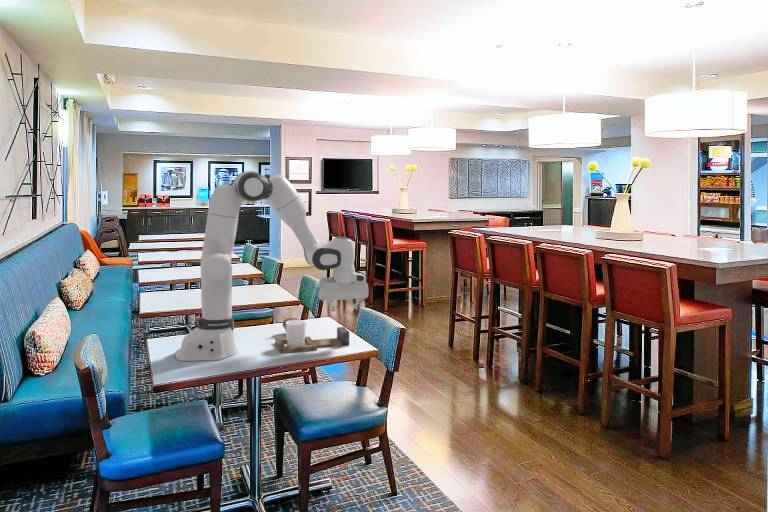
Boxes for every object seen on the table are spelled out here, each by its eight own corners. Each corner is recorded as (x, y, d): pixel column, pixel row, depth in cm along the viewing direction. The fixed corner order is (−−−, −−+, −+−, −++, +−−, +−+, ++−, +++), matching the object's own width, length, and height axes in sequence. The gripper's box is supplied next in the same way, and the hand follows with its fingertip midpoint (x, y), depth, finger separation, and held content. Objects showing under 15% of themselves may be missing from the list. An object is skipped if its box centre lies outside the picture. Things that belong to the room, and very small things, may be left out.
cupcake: (278, 334, 248) (278, 306, 246) (293, 330, 254) (293, 303, 252) (291, 338, 242) (291, 310, 240) (306, 334, 248) (306, 306, 247)
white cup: (301, 350, 226) (301, 325, 225) (282, 348, 228) (282, 324, 226) (308, 344, 234) (308, 320, 232) (290, 343, 235) (289, 319, 234)
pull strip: (281, 353, 222) (281, 339, 221) (275, 342, 235) (275, 329, 234) (351, 347, 231) (351, 333, 230) (342, 337, 244) (342, 325, 243)
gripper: (320, 279, 227) (320, 313, 229) (369, 276, 234) (369, 309, 236) (316, 276, 233) (317, 310, 235) (365, 273, 239) (365, 306, 242)
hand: (344, 309), depth 235 cm, fingers open, 8 cm apart
